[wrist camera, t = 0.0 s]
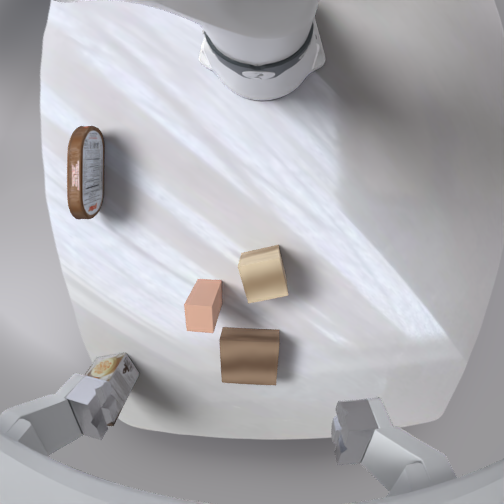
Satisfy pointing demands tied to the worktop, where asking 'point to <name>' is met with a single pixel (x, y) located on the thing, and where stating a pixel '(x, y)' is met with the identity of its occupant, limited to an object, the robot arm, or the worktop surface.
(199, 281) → the terracotta block
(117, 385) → the coffee box
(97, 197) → the tin
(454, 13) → the worktop surface
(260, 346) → the walnut block
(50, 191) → the worktop surface
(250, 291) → the oak cube
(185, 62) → the worktop surface
